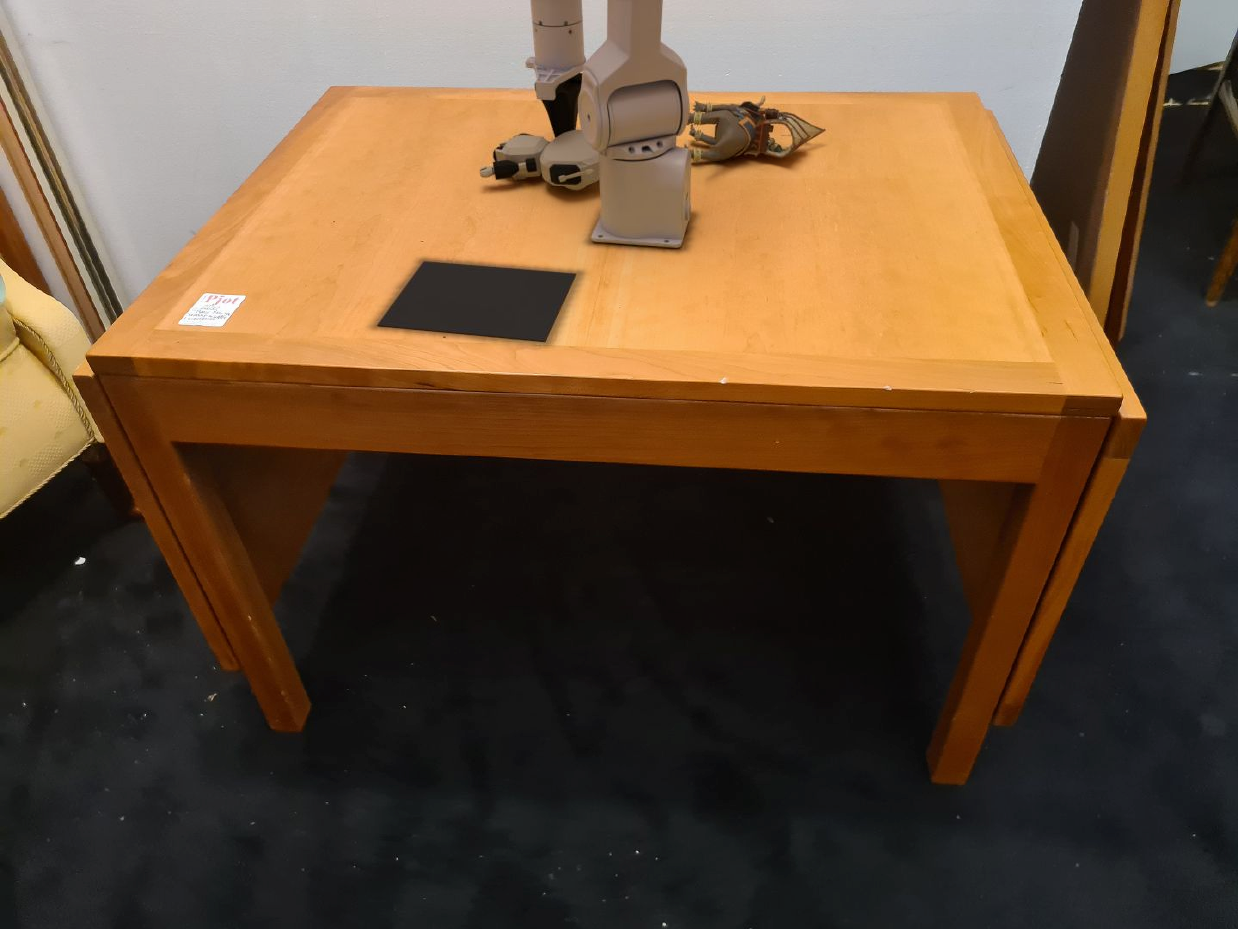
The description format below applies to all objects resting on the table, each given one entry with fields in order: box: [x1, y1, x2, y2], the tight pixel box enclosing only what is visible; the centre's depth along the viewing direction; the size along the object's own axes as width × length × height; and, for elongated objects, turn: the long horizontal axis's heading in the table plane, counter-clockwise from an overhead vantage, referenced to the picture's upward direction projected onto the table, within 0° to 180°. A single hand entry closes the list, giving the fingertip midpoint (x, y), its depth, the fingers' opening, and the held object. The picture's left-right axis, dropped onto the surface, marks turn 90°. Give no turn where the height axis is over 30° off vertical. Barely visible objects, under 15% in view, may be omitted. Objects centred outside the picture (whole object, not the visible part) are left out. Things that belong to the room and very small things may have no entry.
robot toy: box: [479, 129, 600, 191], centre depth 102 cm, size 12×4×15 cm
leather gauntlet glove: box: [683, 95, 826, 163], centre depth 105 cm, size 20×6×17 cm
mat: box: [377, 260, 577, 343], centre depth 83 cm, size 16×12×1 cm
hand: (565, 139), depth 107 cm, fingers closed
